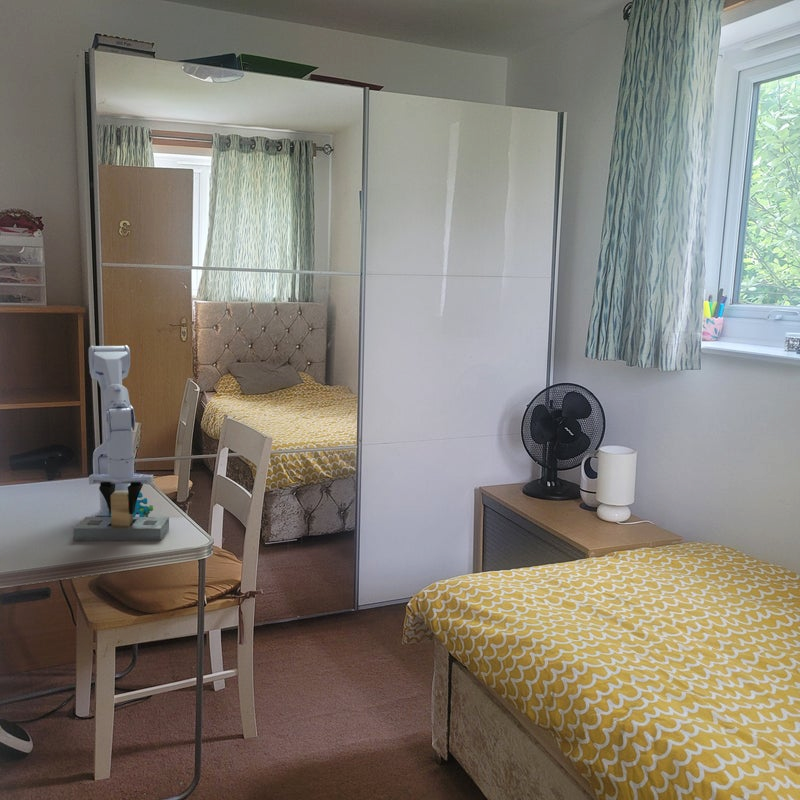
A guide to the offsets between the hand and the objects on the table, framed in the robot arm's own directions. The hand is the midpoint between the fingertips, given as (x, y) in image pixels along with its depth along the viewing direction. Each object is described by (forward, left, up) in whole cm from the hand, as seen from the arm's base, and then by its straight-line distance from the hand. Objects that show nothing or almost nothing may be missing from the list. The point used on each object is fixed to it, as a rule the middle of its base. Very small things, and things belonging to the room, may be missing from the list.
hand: (122, 512), depth 184 cm
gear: (-11, -1, -6) cm, 12 cm away
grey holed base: (0, 0, -5) cm, 5 cm away
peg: (0, 0, -3) cm, 3 cm away
